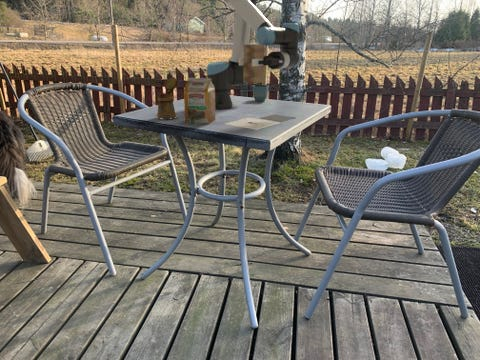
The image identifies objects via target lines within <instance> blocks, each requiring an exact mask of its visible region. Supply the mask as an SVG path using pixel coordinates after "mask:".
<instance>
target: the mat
mask: <svg viewBox="0 0 480 360" xmlns="http://www.w3.org/2000/svg"><path fill="white" fill-rule="evenodd" d="M260 119H261V120H267V121H273V122H280V123H282V122H285V121H289V120H294V119H297V118H296V116H295V117H294V116H288V115H282V114H281V115H280V114H271V115H267V116H264V117H263V116H261V117H260Z"/></svg>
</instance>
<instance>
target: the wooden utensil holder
mask: <svg viewBox="0 0 480 360" xmlns="http://www.w3.org/2000/svg"><path fill="white" fill-rule="evenodd" d="M177 86H178V80H177V79H176V77H175V76H171V77H169V78H168V79H167V80H166V81H165V84H164V87H165V89H166V92H165V93H163V92H162V93H158V95H157V114H156V118H157V117H158V118H163V119H170V118H175V117H176V118H177V114H176V111H175V106H174V97H173V93H172V92H173V90H175V89H176V87H177ZM176 118H175V119H176Z"/></svg>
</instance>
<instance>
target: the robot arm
mask: <svg viewBox="0 0 480 360" xmlns="http://www.w3.org/2000/svg"><path fill="white" fill-rule="evenodd" d="M259 1H260V0H224V2H225V4H227V5H231V6H232V8H233V9H234V10H235V15H234V24H233V25H234V26H233V37H232V50H231V51H232V52H231V56H230V57H229V58H228V60H227V61H225V60H221V61H213V62H210V63H209V64H207V66H206V78H210V79H211V82H212V84H213V85H214V88H215V110H225V109H226V110H227V109H231V108H233V102H232V98H231V95H230V94H231V93H230V87H234V86H235V87H236V86H245V85H247V84H249V83H244V82H243V68H244V45H250V36H251V29H252V31H254V33H255V34H256V35H255V36H256V37H255V39H256V41H257V43H258V45H264V47H265V46H266V47H271V46H281V50H276V51H275V50H274V51H271V52H269V53H268V54H267V55H264V60H263V59H252V66H263V65H264V67H266V66H267V67H268V68H269V69H271V70H278V69H279V70H280V71H282V70H283V69H289V68H290V69H291V68H296V67H298V66H299V65H300V64H301V62H302V54H301V53H300V52H299V48H298V47H299V35H300V26H299V24H298V23H297V22H284V23H283V24H282V26H281V27H279V26H277V27H276V26H275V25H273V23H272V22H270V21H269V20H268V19H267V18H266V16H265V15H264V14H263V13H262V12H261V11H260V10H259V9H258V7H257V2H259Z"/></svg>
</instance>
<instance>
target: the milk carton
mask: <svg viewBox="0 0 480 360" xmlns="http://www.w3.org/2000/svg"><path fill="white" fill-rule="evenodd" d="M183 99H184V100H183V102H184V118H185V123H191V124H190V125H211V124H212V123H213V122H214V121H216V109H215V88H214V85H213V84H212V82H211V79H210V78H207V77H206V78H205V77H204V78H202V77H188V78H187V81H186V85H185V86H184V89H183Z"/></svg>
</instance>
